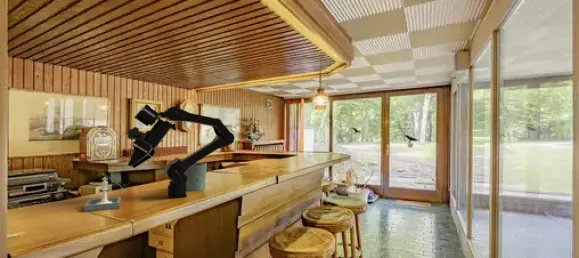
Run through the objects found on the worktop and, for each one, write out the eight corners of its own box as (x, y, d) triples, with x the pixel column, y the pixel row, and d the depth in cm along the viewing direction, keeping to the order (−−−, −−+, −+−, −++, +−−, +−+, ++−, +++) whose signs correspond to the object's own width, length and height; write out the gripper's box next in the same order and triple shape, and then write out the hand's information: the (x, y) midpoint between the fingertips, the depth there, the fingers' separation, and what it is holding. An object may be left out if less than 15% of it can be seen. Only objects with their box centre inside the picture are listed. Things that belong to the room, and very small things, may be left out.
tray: (120, 202, 106) (120, 196, 106) (119, 208, 97) (119, 202, 97) (88, 204, 101) (89, 199, 101) (84, 212, 93) (84, 205, 93)
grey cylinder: (202, 191, 126) (202, 164, 126) (179, 191, 127) (180, 164, 127) (209, 187, 136) (209, 162, 137) (188, 186, 137) (188, 162, 137)
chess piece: (101, 203, 102) (101, 175, 102) (115, 203, 102) (115, 175, 102) (92, 207, 97) (93, 177, 97) (107, 207, 97) (107, 177, 97)
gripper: (142, 126, 119) (116, 157, 114) (135, 116, 102) (105, 152, 97) (165, 141, 121) (141, 172, 116) (162, 133, 104) (134, 169, 99)
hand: (131, 166), depth 107 cm, fingers open, 9 cm apart
